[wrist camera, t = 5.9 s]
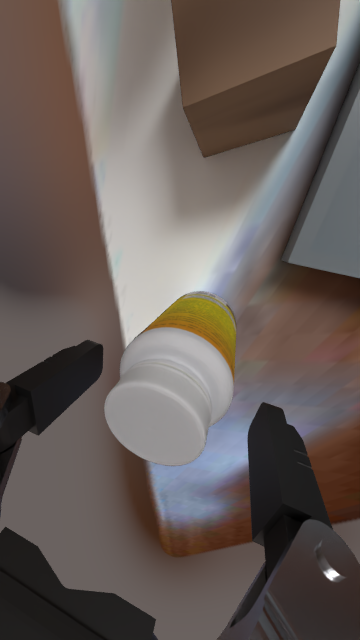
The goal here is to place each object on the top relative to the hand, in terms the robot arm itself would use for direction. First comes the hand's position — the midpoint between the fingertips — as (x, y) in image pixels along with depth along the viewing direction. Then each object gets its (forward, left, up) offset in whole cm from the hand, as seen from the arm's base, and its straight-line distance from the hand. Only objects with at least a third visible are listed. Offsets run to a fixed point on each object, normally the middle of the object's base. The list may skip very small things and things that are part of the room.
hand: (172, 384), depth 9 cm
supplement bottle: (0, 0, -8) cm, 8 cm away
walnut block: (-14, -1, -8) cm, 16 cm away
